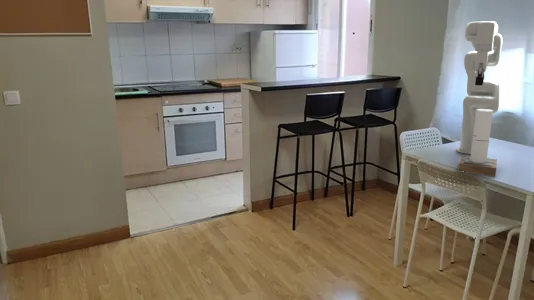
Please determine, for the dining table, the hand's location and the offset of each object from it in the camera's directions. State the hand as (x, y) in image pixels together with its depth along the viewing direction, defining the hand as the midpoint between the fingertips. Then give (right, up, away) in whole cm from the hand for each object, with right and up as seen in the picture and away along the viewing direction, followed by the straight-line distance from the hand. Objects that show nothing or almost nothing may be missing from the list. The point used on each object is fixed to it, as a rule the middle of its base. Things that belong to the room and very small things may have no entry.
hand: (479, 84), depth 205 cm
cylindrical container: (-1, -38, -1) cm, 38 cm away
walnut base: (-1, -42, 0) cm, 42 cm away
